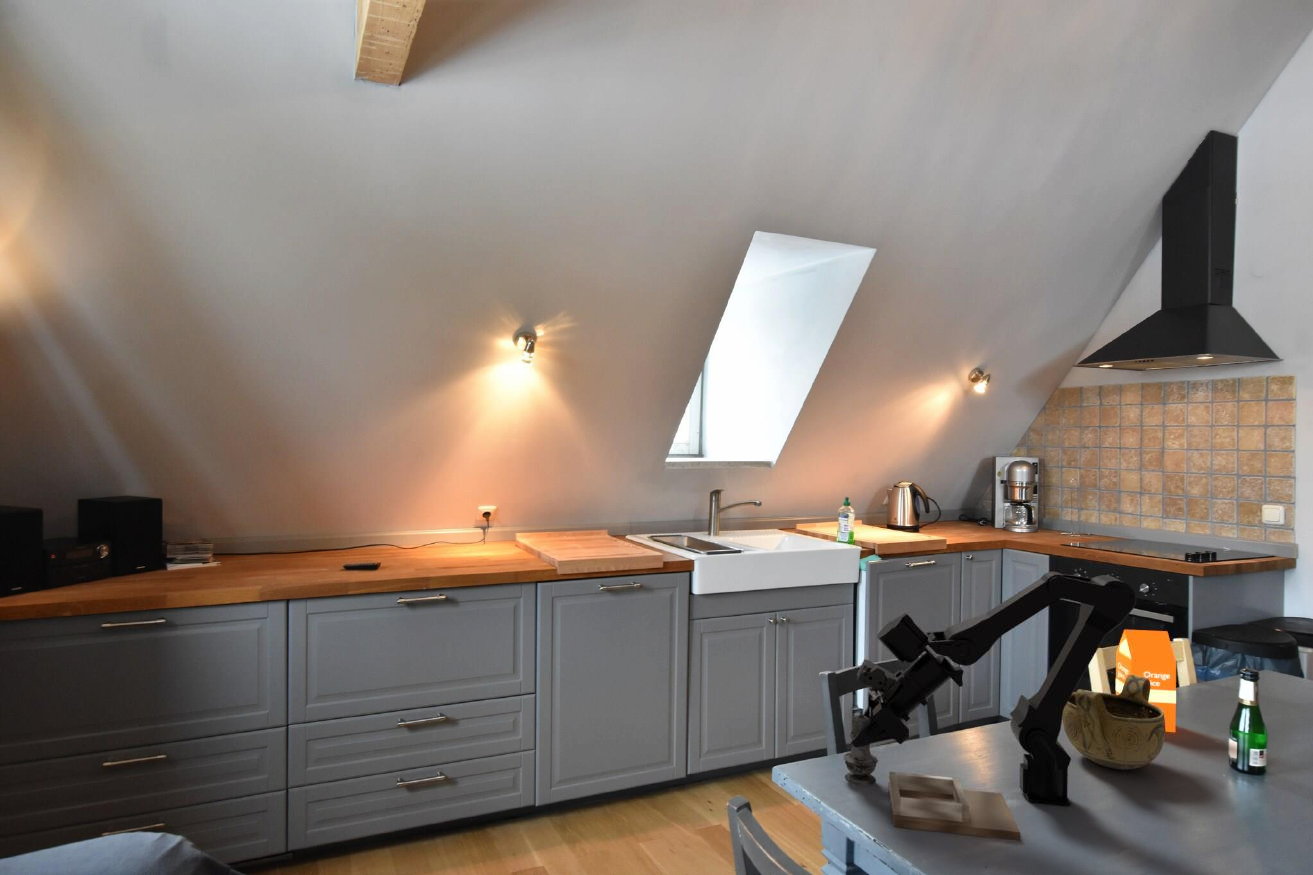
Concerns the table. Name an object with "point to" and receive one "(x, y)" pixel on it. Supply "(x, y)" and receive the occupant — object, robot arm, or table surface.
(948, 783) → the board
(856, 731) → the salt shaker
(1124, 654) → the orange juice
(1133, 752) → the ceramic bowl
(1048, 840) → the table surface
